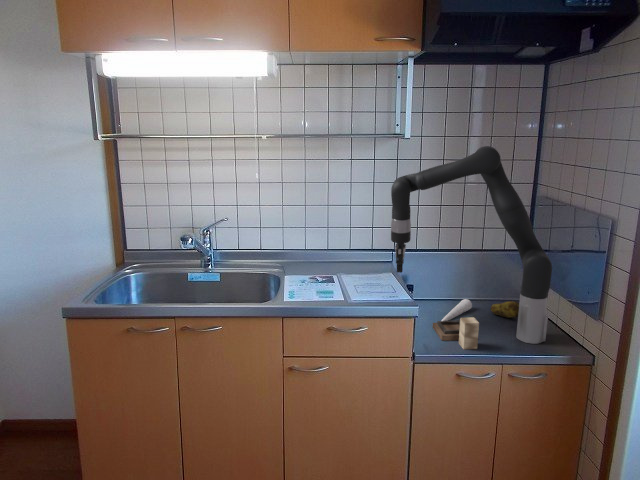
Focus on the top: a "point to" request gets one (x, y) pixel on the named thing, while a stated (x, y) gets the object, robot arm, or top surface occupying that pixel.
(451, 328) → the walnut base
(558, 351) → the top surface
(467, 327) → the maple pillar
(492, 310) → the potato
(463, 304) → the unicorn horn
